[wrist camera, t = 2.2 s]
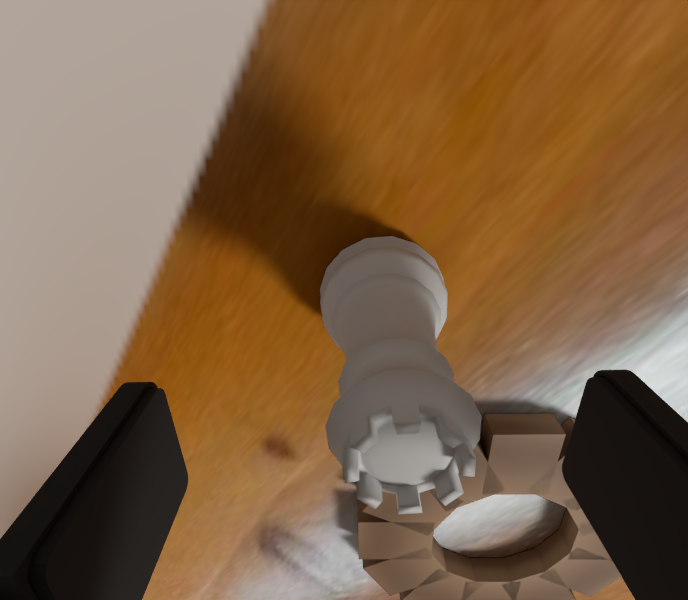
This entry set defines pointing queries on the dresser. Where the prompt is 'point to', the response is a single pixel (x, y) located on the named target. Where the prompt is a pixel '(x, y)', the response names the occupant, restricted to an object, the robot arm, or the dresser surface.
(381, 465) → the rook chess piece
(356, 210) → the dresser surface
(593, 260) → the dresser surface
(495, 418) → the walnut ring
